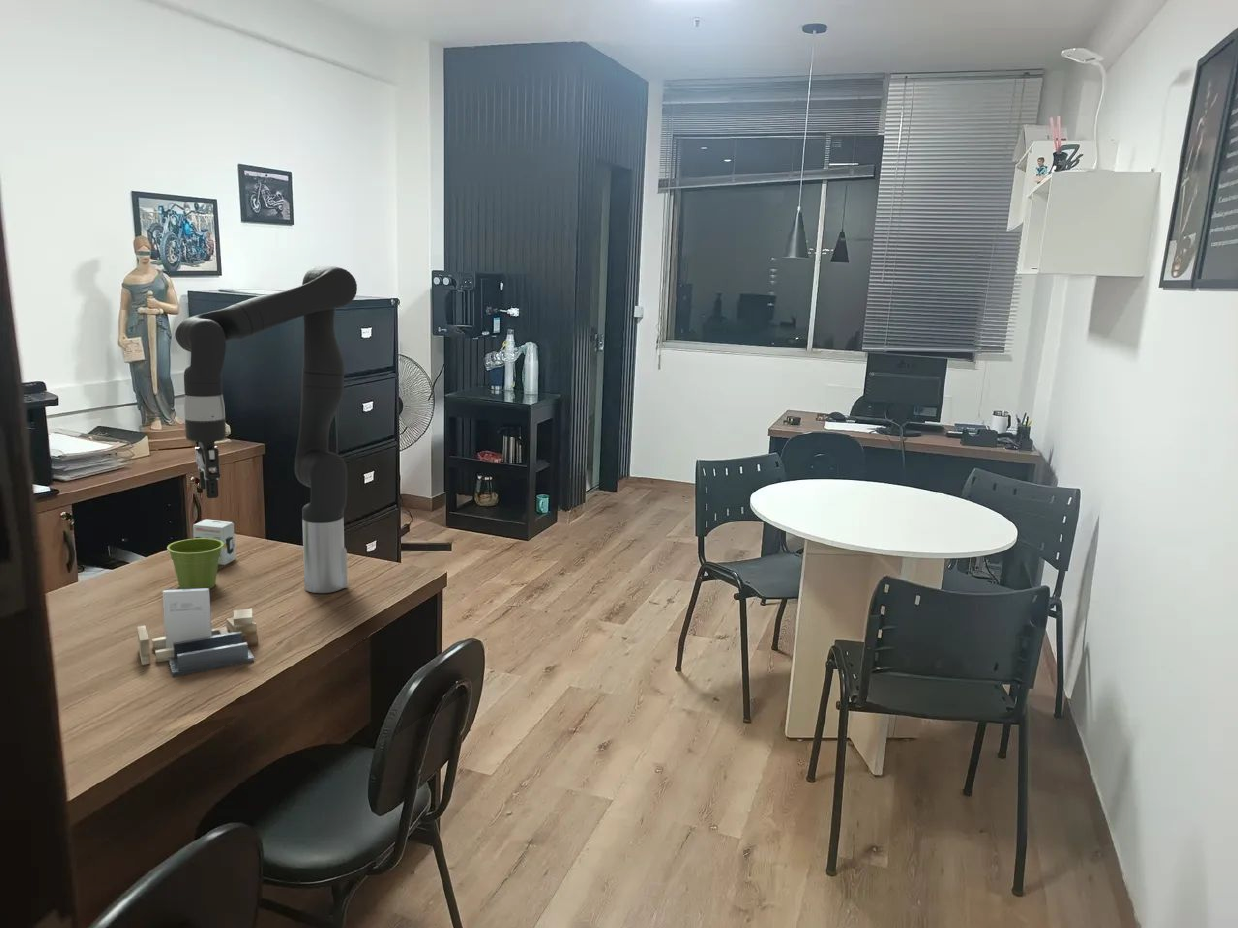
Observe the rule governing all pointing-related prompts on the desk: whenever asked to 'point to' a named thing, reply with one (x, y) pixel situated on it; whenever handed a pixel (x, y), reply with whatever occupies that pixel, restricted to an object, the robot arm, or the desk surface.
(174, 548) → the plant pot
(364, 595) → the desk surface
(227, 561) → the ink box
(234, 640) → the stand
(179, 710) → the desk surface
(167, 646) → the hard drive
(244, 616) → the offcut stack
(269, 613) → the desk surface
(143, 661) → the frame
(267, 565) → the desk surface
